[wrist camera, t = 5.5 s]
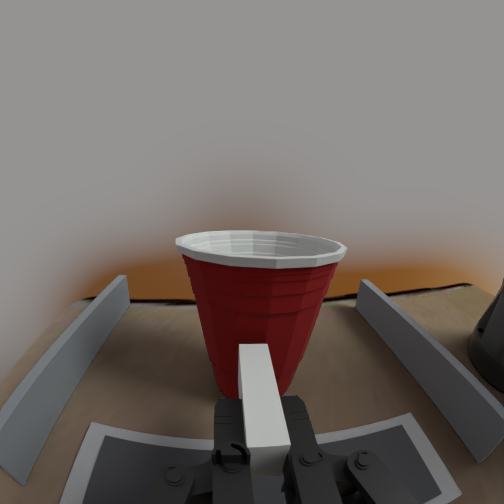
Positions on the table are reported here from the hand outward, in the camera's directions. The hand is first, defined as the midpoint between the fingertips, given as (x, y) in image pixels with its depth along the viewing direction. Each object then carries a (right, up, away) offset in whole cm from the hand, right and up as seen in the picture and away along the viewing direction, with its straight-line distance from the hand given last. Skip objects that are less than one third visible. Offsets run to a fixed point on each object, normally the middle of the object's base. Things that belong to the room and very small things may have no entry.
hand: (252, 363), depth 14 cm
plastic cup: (0, -5, +7) cm, 8 cm away
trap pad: (+1, -7, -4) cm, 8 cm away
